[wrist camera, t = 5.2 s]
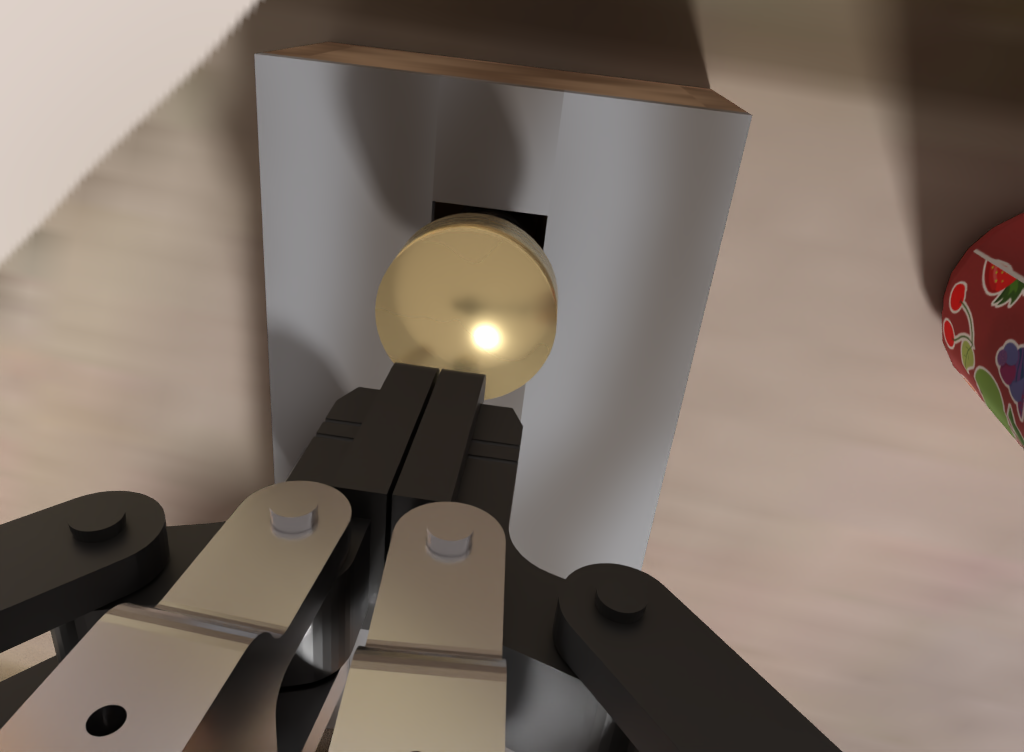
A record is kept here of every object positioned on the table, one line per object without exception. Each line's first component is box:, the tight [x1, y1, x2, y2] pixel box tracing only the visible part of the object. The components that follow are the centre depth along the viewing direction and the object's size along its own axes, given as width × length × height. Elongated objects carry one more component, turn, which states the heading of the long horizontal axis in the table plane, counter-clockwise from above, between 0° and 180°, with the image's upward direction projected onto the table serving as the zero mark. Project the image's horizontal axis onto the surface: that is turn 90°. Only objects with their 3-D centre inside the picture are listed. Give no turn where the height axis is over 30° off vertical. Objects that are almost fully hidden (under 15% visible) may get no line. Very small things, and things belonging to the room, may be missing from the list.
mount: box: [254, 42, 752, 752], centre depth 26 cm, size 12×24×6 cm, turn 174°
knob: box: [375, 205, 558, 400], centre depth 20 cm, size 4×4×9 cm
